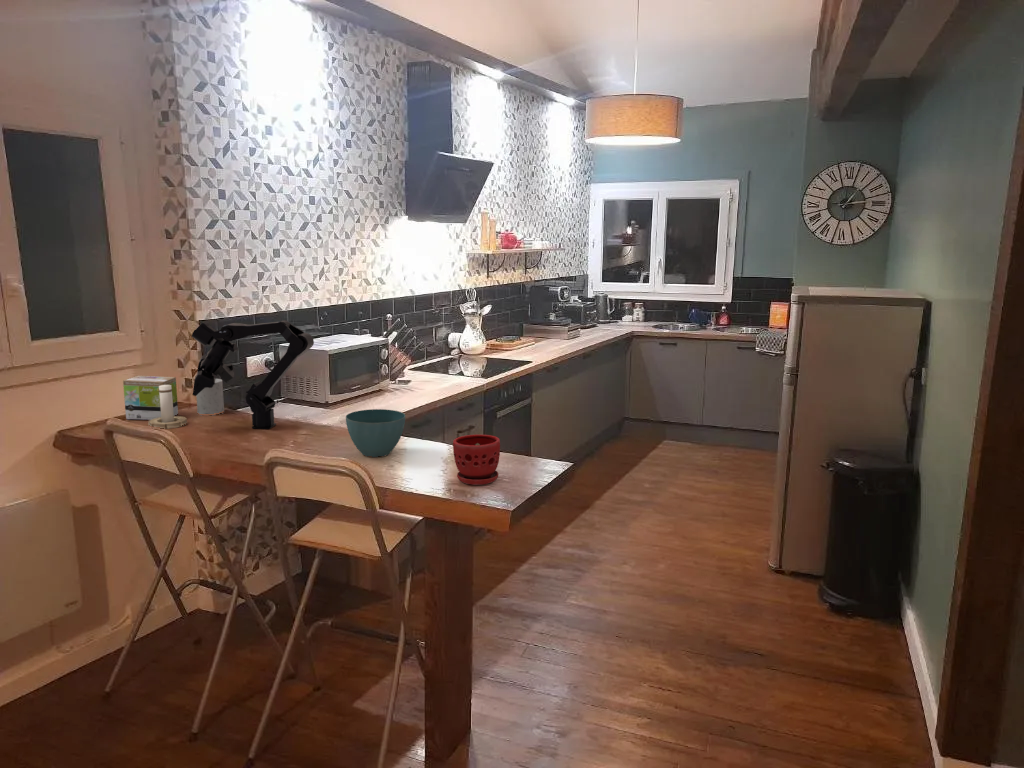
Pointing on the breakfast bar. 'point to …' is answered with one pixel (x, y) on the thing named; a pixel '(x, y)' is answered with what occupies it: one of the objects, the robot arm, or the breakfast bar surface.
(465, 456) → the plant pot
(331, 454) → the breakfast bar surface
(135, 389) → the tea box
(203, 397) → the gray cylinder
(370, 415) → the plant pot
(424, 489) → the breakfast bar surface
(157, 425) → the bead ring
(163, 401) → the needle peg
